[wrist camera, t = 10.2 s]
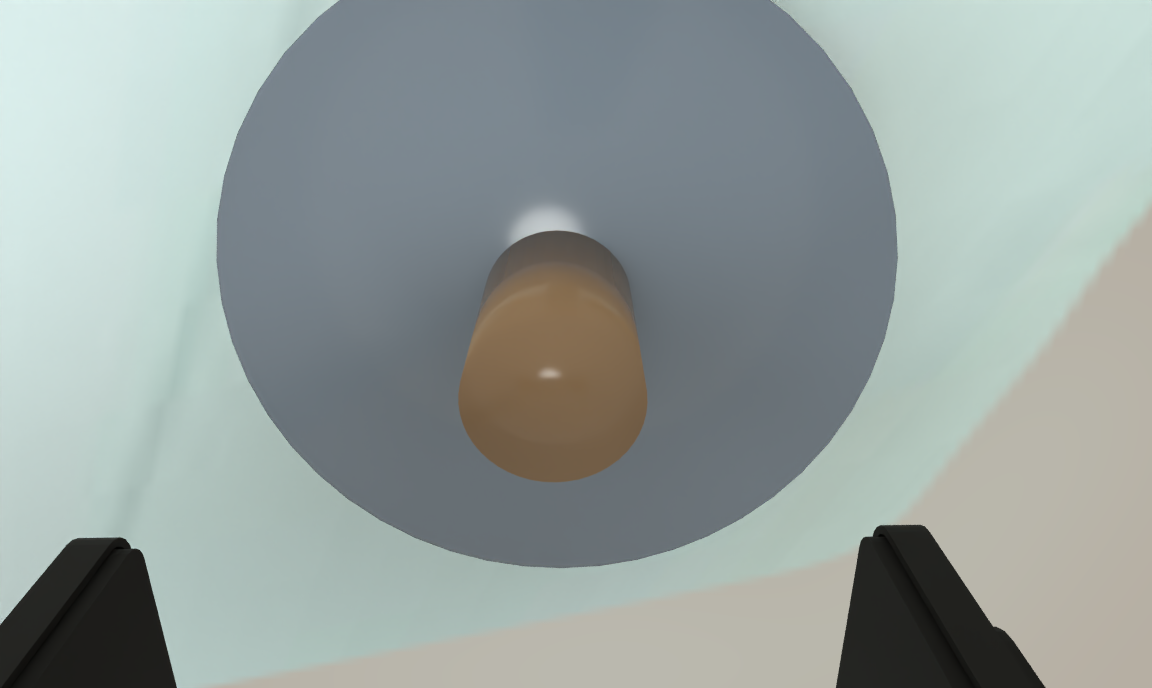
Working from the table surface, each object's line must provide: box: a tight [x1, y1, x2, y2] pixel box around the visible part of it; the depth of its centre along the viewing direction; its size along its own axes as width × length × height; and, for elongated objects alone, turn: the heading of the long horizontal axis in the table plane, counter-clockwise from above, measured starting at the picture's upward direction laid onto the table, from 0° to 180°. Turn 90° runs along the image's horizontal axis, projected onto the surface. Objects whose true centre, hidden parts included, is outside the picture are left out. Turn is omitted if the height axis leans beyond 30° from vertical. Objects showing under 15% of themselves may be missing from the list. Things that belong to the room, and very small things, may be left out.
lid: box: [217, 0, 898, 568], centre depth 19 cm, size 16×16×6 cm
